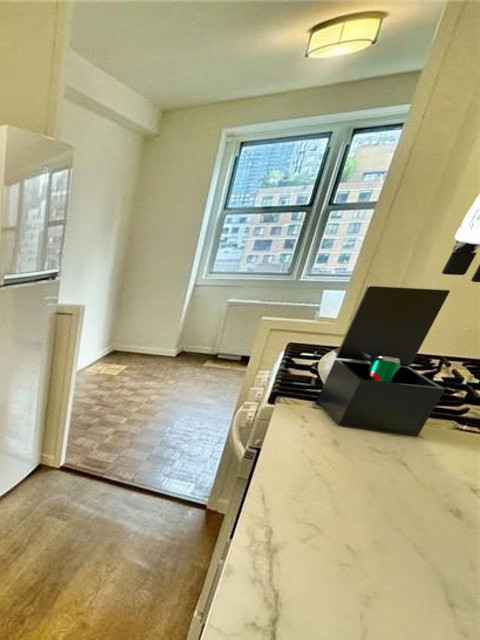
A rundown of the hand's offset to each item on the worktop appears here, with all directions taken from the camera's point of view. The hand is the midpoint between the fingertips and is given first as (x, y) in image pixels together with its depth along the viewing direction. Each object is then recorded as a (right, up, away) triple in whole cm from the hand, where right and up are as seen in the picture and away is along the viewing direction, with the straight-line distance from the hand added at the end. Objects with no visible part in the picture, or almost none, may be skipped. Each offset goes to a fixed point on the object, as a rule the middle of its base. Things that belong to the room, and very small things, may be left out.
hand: (467, 278), depth 89 cm
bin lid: (+7, -4, +20) cm, 22 cm away
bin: (+4, -24, +23) cm, 34 cm away
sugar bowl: (+14, -17, +38) cm, 43 cm away
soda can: (+4, -23, +23) cm, 32 cm away
